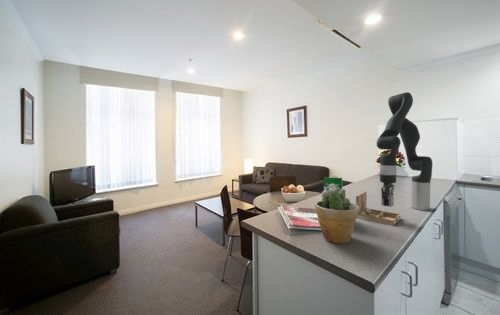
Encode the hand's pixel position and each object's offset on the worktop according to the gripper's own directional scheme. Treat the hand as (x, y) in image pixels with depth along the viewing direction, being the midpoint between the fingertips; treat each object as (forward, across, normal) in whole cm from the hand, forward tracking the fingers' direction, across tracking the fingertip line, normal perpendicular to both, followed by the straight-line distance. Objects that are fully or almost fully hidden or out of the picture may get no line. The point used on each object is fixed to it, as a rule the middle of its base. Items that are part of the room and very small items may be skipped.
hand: (387, 204), depth 116 cm
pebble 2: (+7, -4, -11) cm, 14 cm away
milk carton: (+10, +18, -22) cm, 30 cm away
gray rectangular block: (0, 0, 0) cm, 0 cm away
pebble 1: (+7, +4, -11) cm, 14 cm away
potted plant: (+10, +38, -10) cm, 41 cm away
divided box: (+9, 0, -5) cm, 10 cm away
